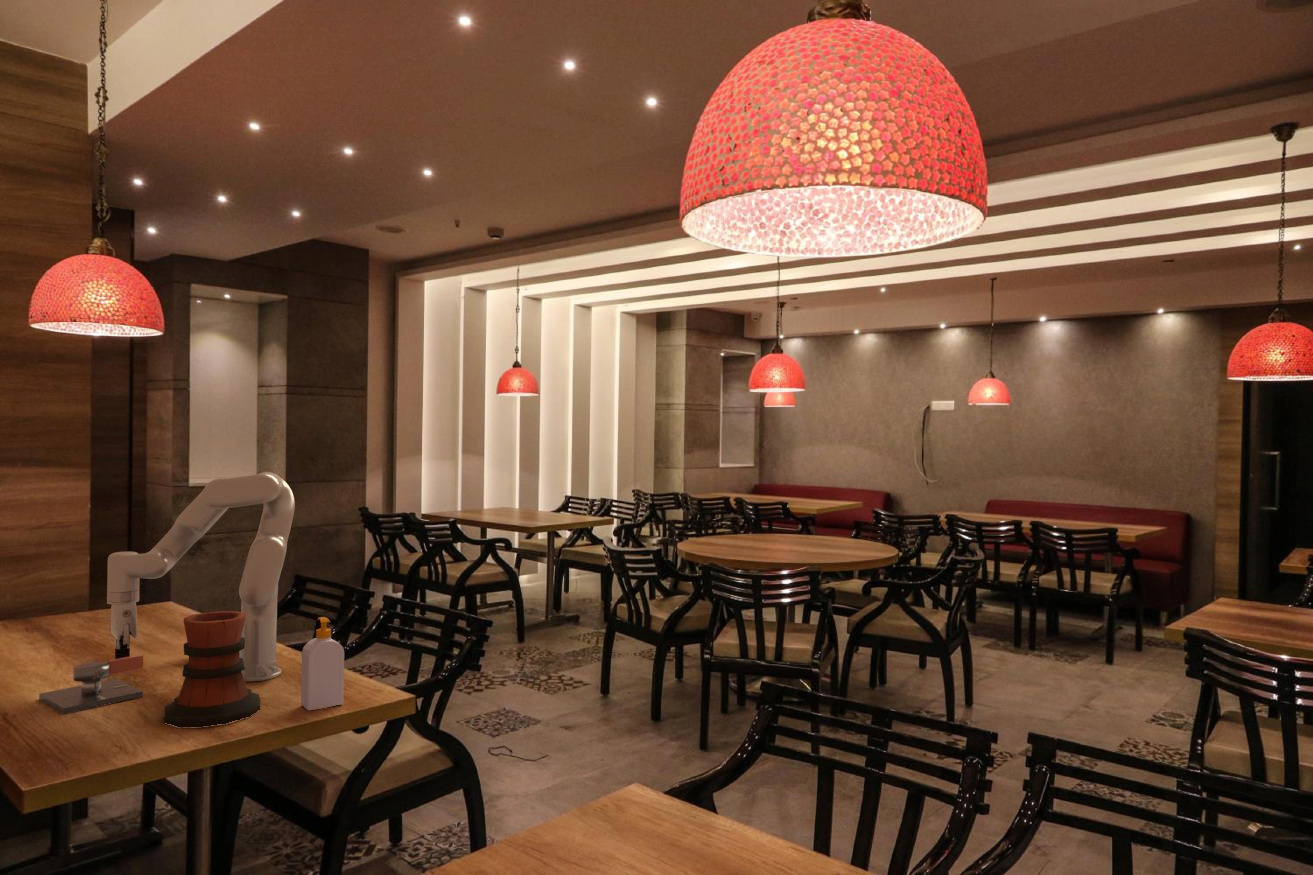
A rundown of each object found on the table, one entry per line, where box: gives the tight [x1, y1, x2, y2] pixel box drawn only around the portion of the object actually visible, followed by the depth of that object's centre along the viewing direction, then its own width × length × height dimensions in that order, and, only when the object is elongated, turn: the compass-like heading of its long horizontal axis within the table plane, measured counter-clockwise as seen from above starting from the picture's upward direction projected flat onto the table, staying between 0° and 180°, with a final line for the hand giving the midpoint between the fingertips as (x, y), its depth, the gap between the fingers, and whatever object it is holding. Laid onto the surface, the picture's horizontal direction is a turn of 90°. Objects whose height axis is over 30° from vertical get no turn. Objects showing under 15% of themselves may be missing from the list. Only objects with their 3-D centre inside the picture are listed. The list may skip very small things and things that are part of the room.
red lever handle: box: [72, 654, 144, 683], centre depth 218 cm, size 16×10×4 cm, turn 143°
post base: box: [38, 678, 144, 715], centre depth 215 cm, size 18×18×5 cm
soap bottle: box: [300, 616, 345, 711], centre depth 213 cm, size 9×7×23 cm
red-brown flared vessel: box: [163, 610, 261, 727], centre depth 207 cm, size 22×25×25 cm
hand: (122, 662), depth 224 cm, fingers closed
